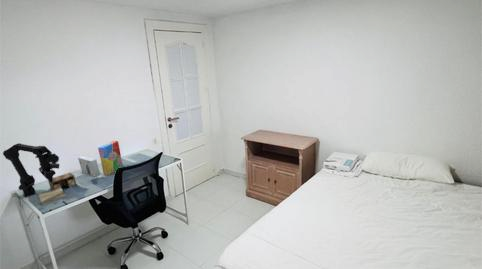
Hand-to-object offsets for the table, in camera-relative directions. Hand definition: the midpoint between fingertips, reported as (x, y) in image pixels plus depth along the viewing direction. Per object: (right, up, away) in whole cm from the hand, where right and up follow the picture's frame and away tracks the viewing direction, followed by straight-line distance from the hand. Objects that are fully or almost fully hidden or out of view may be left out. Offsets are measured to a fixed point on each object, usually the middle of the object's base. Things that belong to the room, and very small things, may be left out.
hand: (49, 180), depth 193 cm
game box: (+28, +1, +44) cm, 52 cm away
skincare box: (+9, -1, +39) cm, 40 cm away
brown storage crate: (+1, -8, +14) cm, 16 cm away
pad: (+7, -14, -4) cm, 16 cm away
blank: (+6, -13, -5) cm, 15 cm away
